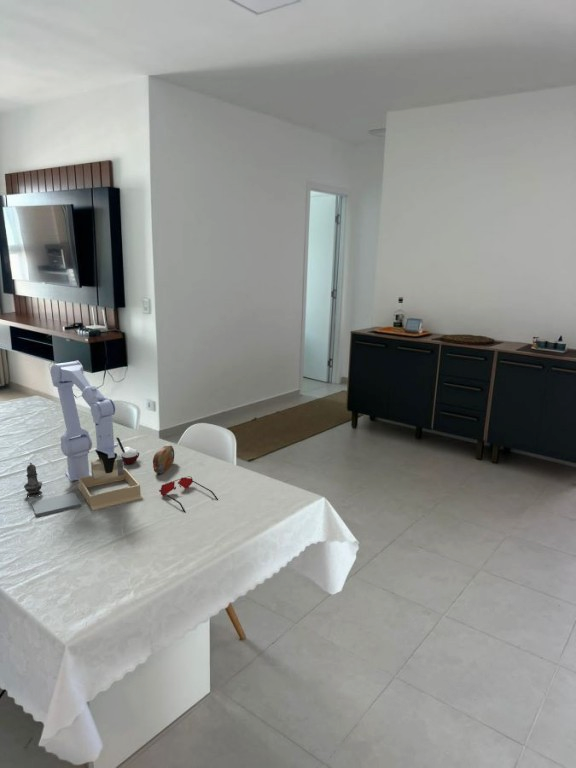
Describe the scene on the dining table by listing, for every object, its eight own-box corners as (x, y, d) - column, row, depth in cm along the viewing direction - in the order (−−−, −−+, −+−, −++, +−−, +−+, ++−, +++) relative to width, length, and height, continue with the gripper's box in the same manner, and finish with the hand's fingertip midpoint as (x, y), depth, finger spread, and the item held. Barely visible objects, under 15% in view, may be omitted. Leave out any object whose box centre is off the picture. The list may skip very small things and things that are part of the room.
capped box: (91, 476, 186) (90, 460, 185) (120, 470, 192) (119, 455, 190) (94, 480, 183) (93, 464, 182) (123, 474, 189) (122, 458, 187)
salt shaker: (47, 492, 188) (43, 460, 185) (34, 499, 183) (30, 466, 180) (33, 489, 190) (30, 458, 187) (21, 496, 185) (17, 464, 182)
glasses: (191, 485, 196) (191, 473, 195) (218, 500, 185) (218, 487, 183) (158, 497, 187) (157, 484, 185) (184, 513, 175) (184, 500, 174)
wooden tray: (77, 486, 193) (76, 475, 192) (124, 476, 203) (123, 466, 202) (92, 510, 176) (91, 499, 175) (143, 498, 185) (142, 487, 184)
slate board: (31, 504, 179) (31, 501, 179) (74, 494, 186) (74, 492, 186) (36, 516, 171) (35, 514, 171) (81, 506, 178) (81, 503, 178)
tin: (159, 477, 203) (158, 456, 201) (152, 476, 203) (150, 455, 201) (175, 462, 217) (174, 442, 215) (168, 461, 217) (167, 442, 215)
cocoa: (138, 459, 220) (138, 431, 218) (141, 464, 214) (141, 436, 212) (114, 462, 215) (114, 434, 213) (117, 467, 210) (116, 438, 208)
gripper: (122, 438, 180) (124, 475, 183) (110, 426, 192) (113, 461, 195) (101, 441, 176) (104, 479, 179) (90, 429, 188) (93, 465, 191)
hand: (107, 470), depth 187 cm, fingers closed on capped box, 4 cm apart
